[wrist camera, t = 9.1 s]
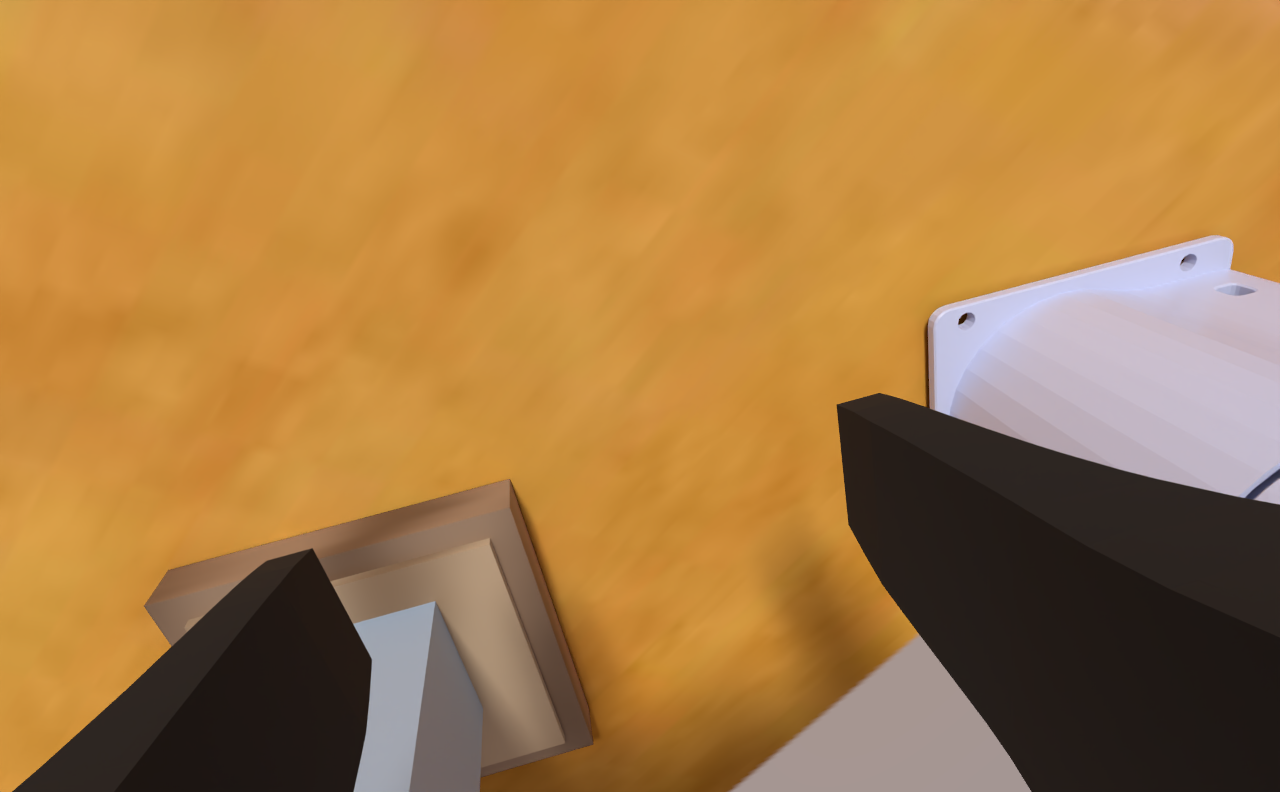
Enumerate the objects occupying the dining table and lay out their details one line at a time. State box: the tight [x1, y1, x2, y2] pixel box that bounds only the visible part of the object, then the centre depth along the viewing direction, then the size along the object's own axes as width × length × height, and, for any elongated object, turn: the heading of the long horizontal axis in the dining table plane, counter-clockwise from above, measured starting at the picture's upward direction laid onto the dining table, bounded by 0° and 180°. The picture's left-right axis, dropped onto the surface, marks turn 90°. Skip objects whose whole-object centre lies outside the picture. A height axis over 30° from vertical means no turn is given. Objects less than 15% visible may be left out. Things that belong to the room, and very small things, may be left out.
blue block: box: [353, 601, 483, 792], centre depth 18 cm, size 4×4×6 cm
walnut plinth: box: [144, 479, 593, 777], centre depth 22 cm, size 10×10×2 cm
